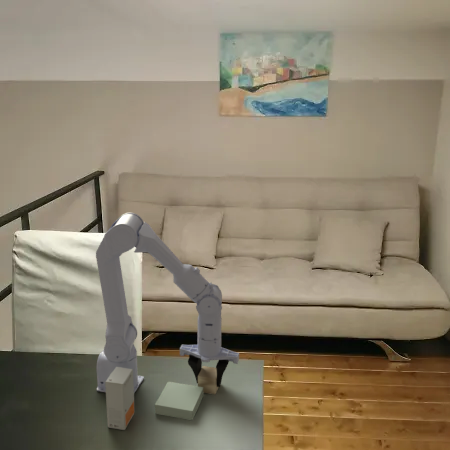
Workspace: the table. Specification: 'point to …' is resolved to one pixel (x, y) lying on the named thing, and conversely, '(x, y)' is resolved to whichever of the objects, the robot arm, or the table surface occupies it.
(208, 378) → the maple cube
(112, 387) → the skincare box
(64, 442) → the table surface
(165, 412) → the sage base
